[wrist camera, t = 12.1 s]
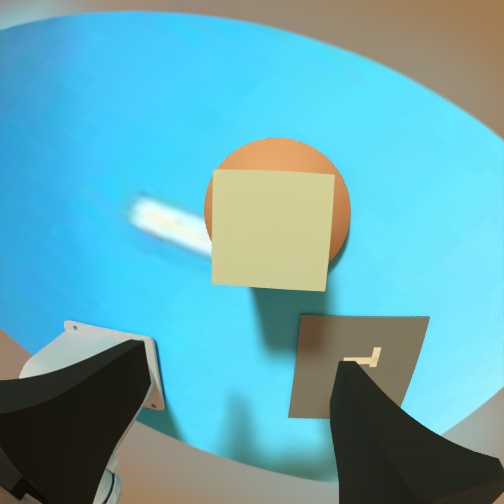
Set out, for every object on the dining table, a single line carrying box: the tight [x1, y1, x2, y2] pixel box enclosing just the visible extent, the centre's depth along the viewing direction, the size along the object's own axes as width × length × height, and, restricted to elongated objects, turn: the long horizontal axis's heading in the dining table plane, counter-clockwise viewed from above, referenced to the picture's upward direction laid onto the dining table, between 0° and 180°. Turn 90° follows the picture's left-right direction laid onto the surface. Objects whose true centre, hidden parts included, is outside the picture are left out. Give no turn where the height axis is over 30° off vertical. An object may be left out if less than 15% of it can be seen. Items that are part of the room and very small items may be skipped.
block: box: [212, 169, 335, 291], centre depth 15 cm, size 4×4×7 cm
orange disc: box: [204, 138, 351, 263], centre depth 18 cm, size 9×9×1 cm
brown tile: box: [288, 314, 430, 418], centre depth 21 cm, size 10×10×1 cm
